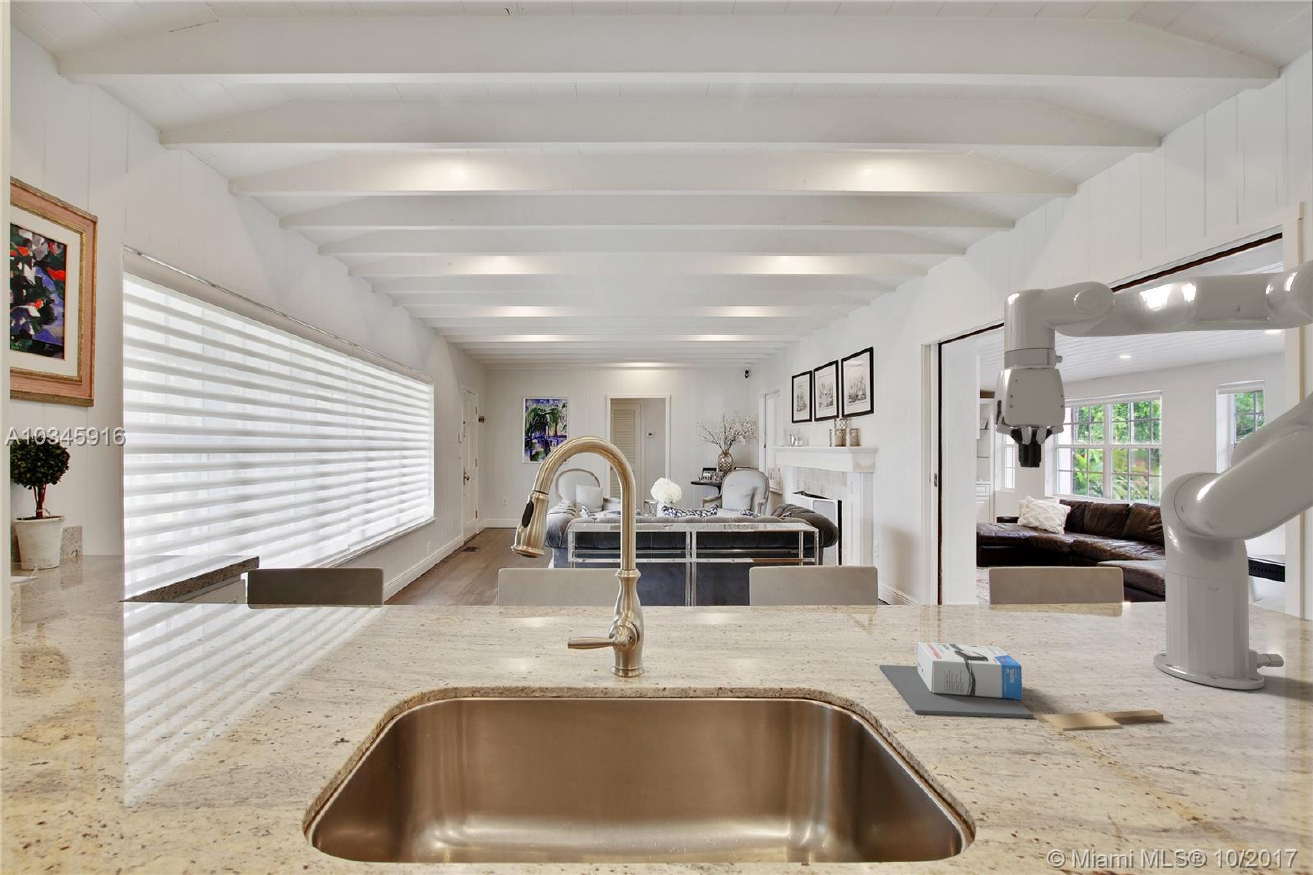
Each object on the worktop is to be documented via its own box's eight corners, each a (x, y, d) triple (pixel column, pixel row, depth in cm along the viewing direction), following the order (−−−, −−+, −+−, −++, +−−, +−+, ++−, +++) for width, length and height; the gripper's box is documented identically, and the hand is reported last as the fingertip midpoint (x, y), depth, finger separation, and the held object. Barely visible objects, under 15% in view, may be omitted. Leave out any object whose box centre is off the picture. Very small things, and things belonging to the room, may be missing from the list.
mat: (976, 671, 93) (976, 668, 93) (1033, 718, 77) (1033, 714, 77) (879, 668, 94) (879, 665, 94) (915, 713, 78) (915, 709, 78)
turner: (1145, 712, 78) (1145, 706, 78) (1171, 724, 75) (1171, 718, 75) (1041, 718, 77) (1041, 712, 77) (1062, 731, 73) (1062, 725, 74)
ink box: (1023, 665, 81) (931, 659, 83) (1023, 701, 81) (932, 694, 83) (998, 644, 89) (916, 640, 91) (998, 677, 89) (916, 671, 91)
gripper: (1061, 364, 105) (1061, 466, 105) (974, 365, 106) (975, 466, 106) (1088, 358, 98) (1089, 468, 98) (995, 359, 99) (995, 467, 99)
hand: (1029, 467), depth 102 cm, fingers closed
